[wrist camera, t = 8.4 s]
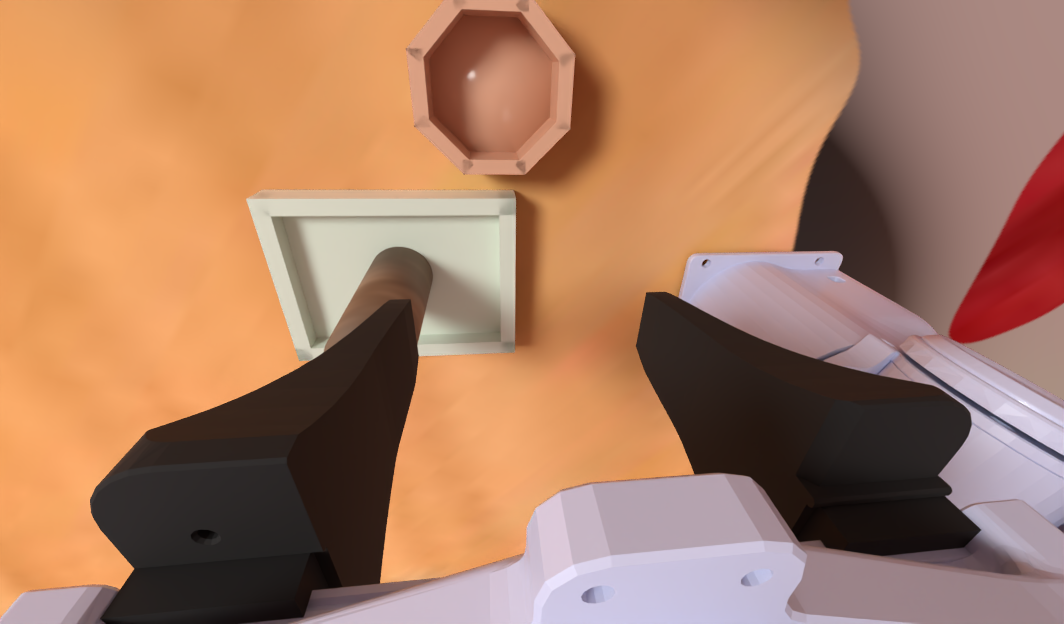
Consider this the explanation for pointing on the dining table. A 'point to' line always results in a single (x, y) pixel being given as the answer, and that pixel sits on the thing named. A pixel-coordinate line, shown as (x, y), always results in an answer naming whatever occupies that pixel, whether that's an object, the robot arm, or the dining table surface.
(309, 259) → the tray
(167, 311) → the dining table surface
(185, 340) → the dining table surface
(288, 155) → the dining table surface
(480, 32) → the holder
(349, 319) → the peg
